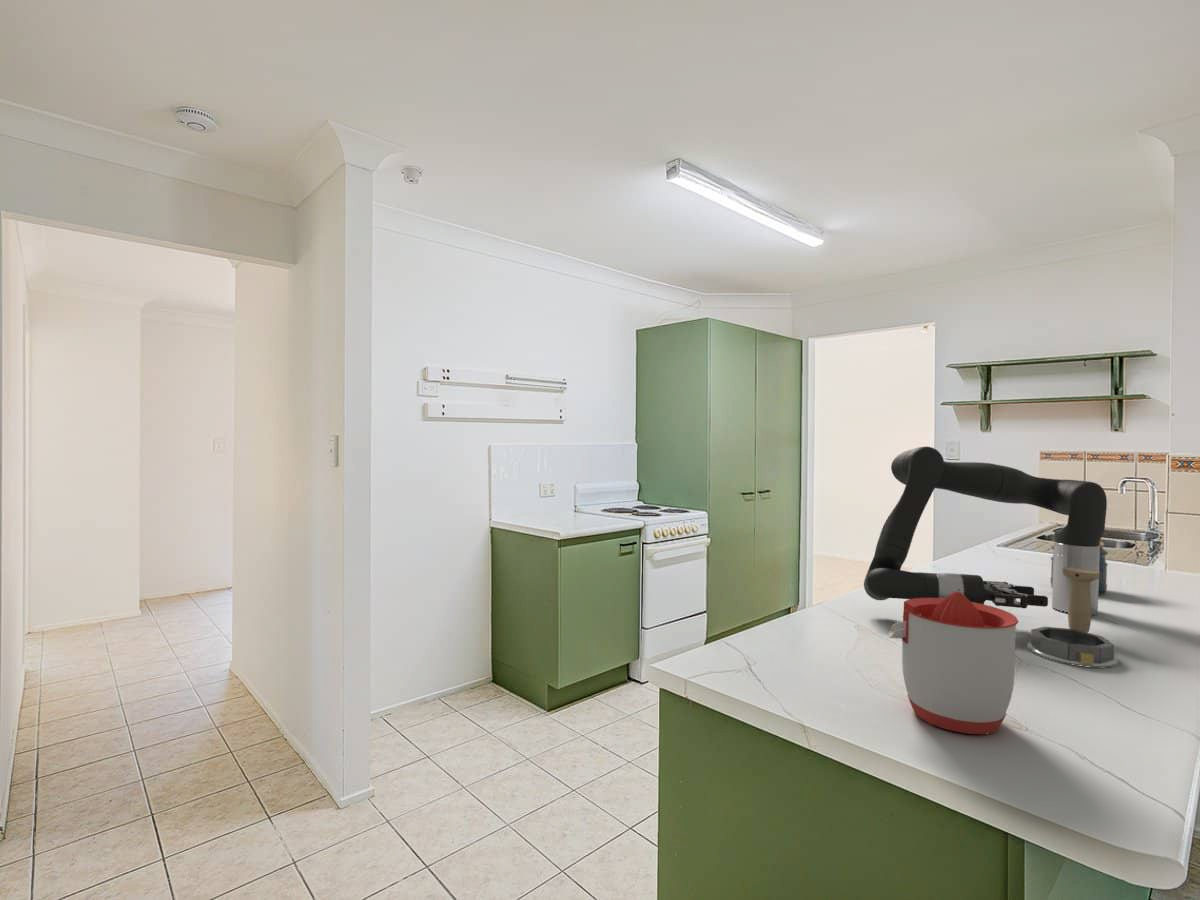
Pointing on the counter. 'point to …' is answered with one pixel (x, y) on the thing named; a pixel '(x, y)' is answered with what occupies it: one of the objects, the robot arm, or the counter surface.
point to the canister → (1102, 569)
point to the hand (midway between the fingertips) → (1040, 596)
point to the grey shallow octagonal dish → (1072, 647)
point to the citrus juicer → (957, 661)
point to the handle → (1080, 597)
